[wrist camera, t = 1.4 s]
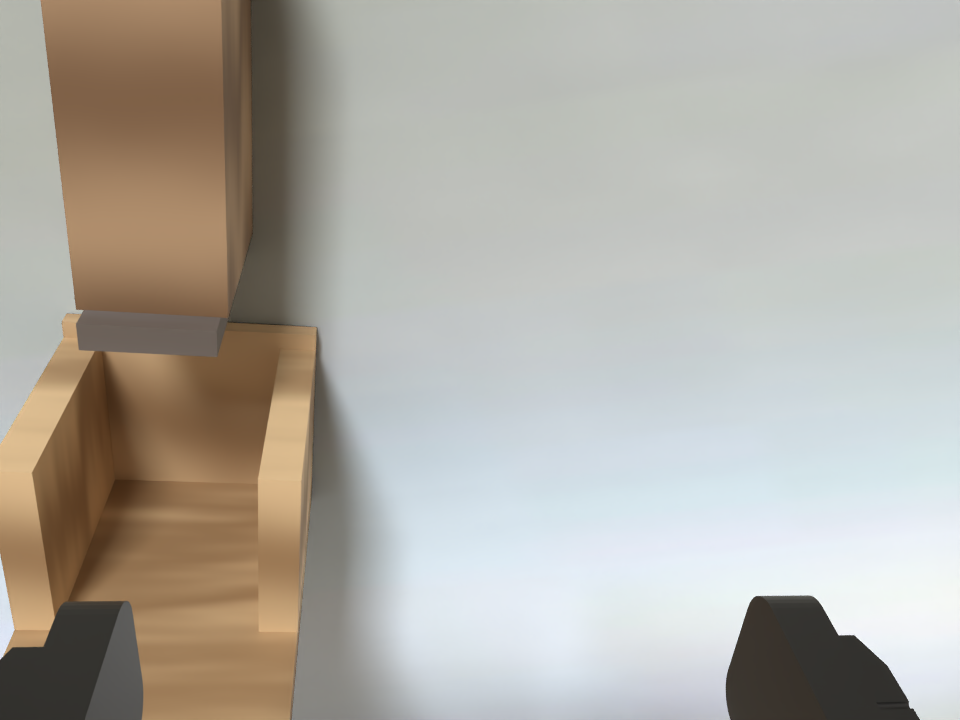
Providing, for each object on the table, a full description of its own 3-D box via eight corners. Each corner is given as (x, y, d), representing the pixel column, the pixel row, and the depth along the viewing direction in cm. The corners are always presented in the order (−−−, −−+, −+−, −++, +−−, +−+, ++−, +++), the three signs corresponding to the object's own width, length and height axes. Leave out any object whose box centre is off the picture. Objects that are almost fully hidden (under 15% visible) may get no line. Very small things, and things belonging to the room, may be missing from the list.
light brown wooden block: (92, -204, 24) (3, -210, 18) (249, -183, 25) (211, -182, 19) (128, 247, 30) (70, 349, 25) (252, 255, 31) (224, 357, 25)
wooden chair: (54, 312, 31) (-168, 660, 18) (328, 327, 33) (298, 661, 20) (78, 499, 35) (-91, 891, 22) (321, 506, 37) (293, 879, 24)
